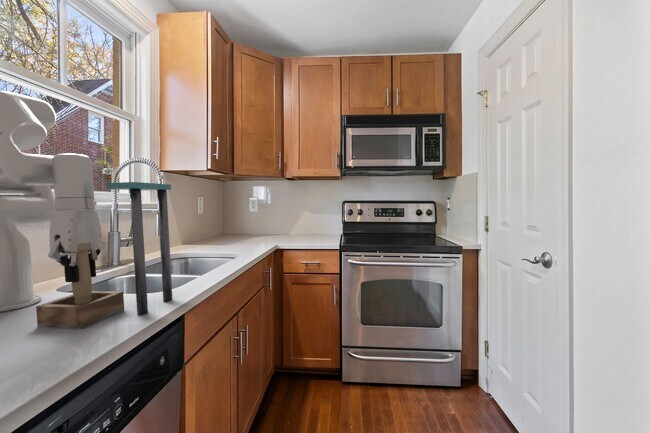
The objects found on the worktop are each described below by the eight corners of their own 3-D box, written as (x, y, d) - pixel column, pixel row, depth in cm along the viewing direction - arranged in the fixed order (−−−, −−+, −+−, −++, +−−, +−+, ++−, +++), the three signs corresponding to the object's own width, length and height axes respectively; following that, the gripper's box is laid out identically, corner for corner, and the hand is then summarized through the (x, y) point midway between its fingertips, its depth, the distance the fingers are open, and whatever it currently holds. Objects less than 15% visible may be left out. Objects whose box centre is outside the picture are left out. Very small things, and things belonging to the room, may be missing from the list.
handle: (68, 309, 72) (63, 246, 71) (73, 301, 78) (68, 243, 77) (93, 305, 75) (89, 244, 74) (96, 298, 80) (92, 241, 79)
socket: (37, 327, 71) (35, 306, 71) (84, 308, 83) (83, 290, 83) (82, 329, 70) (81, 307, 69) (124, 310, 81) (123, 291, 81)
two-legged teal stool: (115, 315, 77) (106, 183, 75) (153, 298, 91) (147, 185, 89) (142, 316, 76) (134, 181, 74) (177, 298, 90) (170, 184, 88)
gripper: (92, 205, 84) (97, 271, 85) (24, 206, 67) (31, 289, 68) (117, 204, 83) (121, 271, 84) (54, 205, 66) (61, 289, 67)
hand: (81, 278), depth 76 cm, fingers closed on handle, 4 cm apart
